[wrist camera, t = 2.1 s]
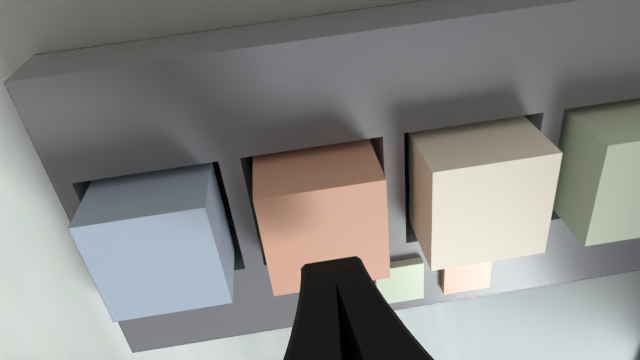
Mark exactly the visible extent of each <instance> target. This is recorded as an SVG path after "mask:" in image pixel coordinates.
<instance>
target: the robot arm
mask: <svg viewBox="0 0 640 360" xmlns="http://www.w3.org/2000/svg"><path fill="white" fill-rule="evenodd" d="M283 360H434V359H433V358H432V357H431V356H430V355H429V354H428V352H427V351H426V350H425V349H424V348H423V347H422V345H421V344H420V343H419V342H418V341H417V340H416V339H415V337H414V336H413V335H412V334H411V333H410V331H409V330H408V329H407V328H406V326H405V325H404V324H403V323H402V321H401V320H400V319H399V317H398V316H397V315H396V313H395V312H394V311H393V309H392V308H391V307H390V305H389V304H388V303H387V301H386V300H385V298H384V297H383V295H382V294H381V292H380V291H379V289H378V288H377V286H376V285H375V283H374V282H373V280H372V278H371V277H370V275H369V273H368V272H367V270H366V268H365V266H364V264H363V262H362V260H361V259H360V258H359V257H357V256H352V257H346V258H340V259H333V260H327V261H321V262H315V263H308V264H305V265H304V266H303V267H302V268H301V284H300V293H299V299H298V305H297V310H296V315H295V319H294V323H293V327H292V332H291V336H290V340H289V343H288V347H287V350H286V353H285V356H284V359H283Z"/></svg>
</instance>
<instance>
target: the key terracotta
mask: <svg viewBox="0 0 640 360" xmlns="http://www.w3.org/2000/svg"><path fill="white" fill-rule="evenodd" d="M253 204H254V208H255V213H256V217H257V222H258V226H259V231H260V235H261V240H262V244H263V249H264V253H265V258H266V263H267V267H268V272H269V276H270V281H271V285H272V290H273V294H274V296H279V295H285V294H292V293H298V292H300V284H301V268H302V267H303V266H304V265H305V264H308V263H315V262H321V261H327V260H333V259H340V258H346V257H352V256H357V257H359V258H360V259H361V260H362V262H363V264H364V266H365V268H366V270H367V272H368V273H369V275H370V277H371V278H372V280H379V279H385V278H390V256H389V232H388V209H387V185H386V178H385V176H384V173H383V171H382V168H381V166H380V164H379V161H378V159H377V156H376V154H375V152H374V149H373V147H372V144H371V142H370V140H369V139H364V140H357V141H350V142H344V143H337V144H330V145H324V146H317V147H310V148H304V149H297V150H290V151H284V152H277V153H270V154H264V155H257V156H253Z"/></svg>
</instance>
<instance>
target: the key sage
mask: <svg viewBox="0 0 640 360" xmlns="http://www.w3.org/2000/svg"><path fill="white" fill-rule="evenodd" d="M558 149H559V150H560V151H561V152H563V154H562V160H561V166H560V171H559V177H558V182H557V188H556V194H555V199H554V205H553V210H554V211H555V212H556V214H557V215H558V216H559V217H560V218H561V219H562V221H563V222H564V223H565V224H566V225H567V226H568V228H569V229H570V230H571V231H572V232H573V233H574V235H575V236H576V237H577V238H578V239H579V240H580V242H581V243H582V244H583V245H584V246H591V245H597V244H603V243H610V242H616V241H622V240H628V239H634V238H640V98H637V99H630V100H624V101H617V102H610V103H604V104H597V105H590V106H584V107H577V108H570V109H564V115H563V121H562V126H561V132H560V138H559V144H558Z"/></svg>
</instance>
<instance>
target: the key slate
mask: <svg viewBox="0 0 640 360" xmlns="http://www.w3.org/2000/svg"><path fill="white" fill-rule="evenodd" d="M68 230H69V232H70V234H71V236H72V238H73V240H74V242H75V244H76V246H77V248H78V250H79V253H80V255H81V257H82V259H83V261H84V263H85V265H86V267H87V269H88V271H89V273H90V275H91V277H92V279H93V281H94V284H95V286H96V288H97V290H98V292H99V294H100V296H101V298H102V300H103V302H104V304H105V306H106V308H107V310H108V313H109V315H110V317H111V319H112V321H113V322H117V321H123V320H130V319H136V318H142V317H148V316H154V315H161V314H167V313H173V312H179V311H186V310H192V309H198V308H204V307H211V306H217V305H223V304H229V303H232V300H233V278H234V255H235V248H234V244H233V240H232V236H231V232H230V229H229V225H228V221H227V217H226V213H225V209H224V206H223V202H222V198H221V194H220V190H219V186H218V183H217V179H216V175H215V171H214V167H213V163H212V162H210V163H204V164H197V165H190V166H183V167H177V168H170V169H163V170H157V171H150V172H143V173H137V174H130V175H123V176H117V177H110V178H103V179H97V180H92V181H91V183H90V185H89V187H88V189H87V191H86V193H85V195H84V197H83V199H82V201H81V203H80V205H79V207H78V209H77V211H76V213H75V215H74V217H73V219H72V221H71V223H70V225H69V227H68Z"/></svg>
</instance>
